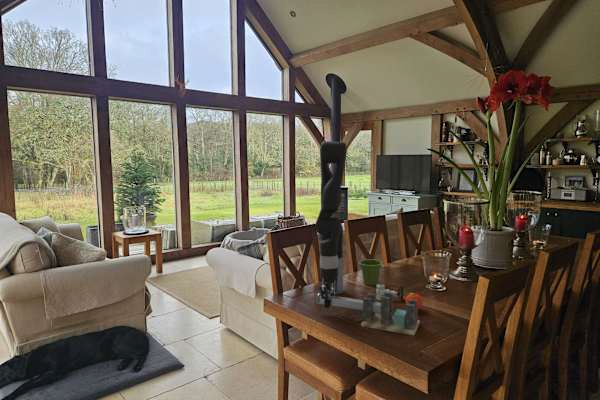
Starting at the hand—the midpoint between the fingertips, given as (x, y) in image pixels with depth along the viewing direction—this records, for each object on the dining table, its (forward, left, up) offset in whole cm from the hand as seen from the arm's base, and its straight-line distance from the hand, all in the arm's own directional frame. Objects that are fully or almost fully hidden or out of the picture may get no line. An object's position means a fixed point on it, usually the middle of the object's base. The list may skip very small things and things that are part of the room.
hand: (329, 305), depth 163 cm
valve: (+19, +26, -4) cm, 33 cm away
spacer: (+27, 0, 0) cm, 27 cm away
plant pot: (+5, +45, -4) cm, 45 cm away
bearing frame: (+26, 0, -4) cm, 26 cm away
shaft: (+10, 0, 0) cm, 10 cm away
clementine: (+31, +19, -4) cm, 36 cm away
